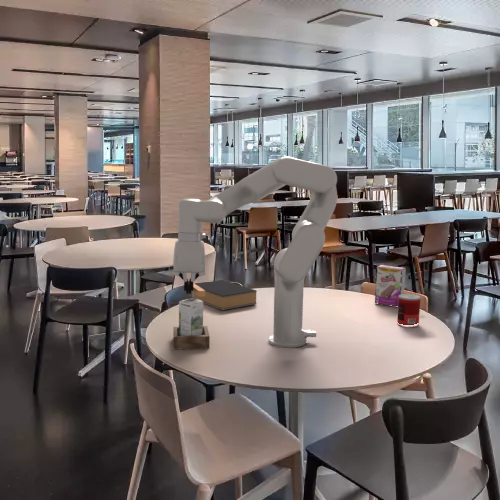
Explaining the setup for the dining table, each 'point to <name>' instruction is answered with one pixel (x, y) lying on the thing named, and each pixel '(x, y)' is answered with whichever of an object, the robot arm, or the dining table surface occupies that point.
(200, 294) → the bar
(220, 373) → the dining table surface
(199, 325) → the syrup box
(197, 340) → the holder
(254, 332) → the dining table surface
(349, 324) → the dining table surface
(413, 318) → the canned food
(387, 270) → the candy bar box
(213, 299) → the book
